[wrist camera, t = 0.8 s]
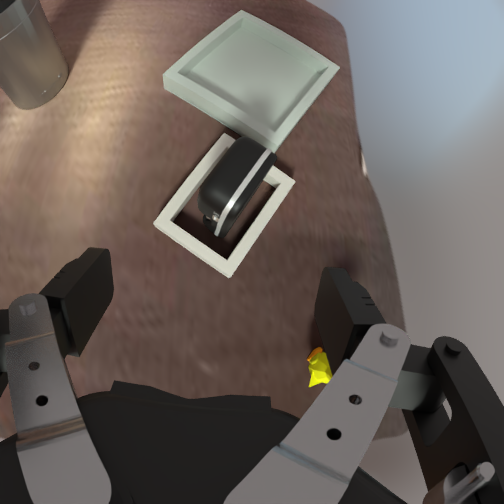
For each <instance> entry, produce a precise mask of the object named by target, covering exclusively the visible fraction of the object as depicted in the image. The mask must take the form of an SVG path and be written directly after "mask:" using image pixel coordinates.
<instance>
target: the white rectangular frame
mask: <svg viewBox="0 0 504 504" xmlns="http://www.w3.org/2000/svg"><path fill="white" fill-rule="evenodd" d="M234 141H235V139H233V138H232V137H230V136H229V135H227V134H226V133H224V134H223V135H222V136H221V137H220V138H219V140H218V141H217V142H216V143H215V144H214V146H213V147H212V148H211V149H210V151H209V152H208V153H207V154H206V155H205V157H204V158H203V159H202V160H201V162H200V163H199V164H198V165H197V167H196V168H195V169H194V170H193V172H192V173H191V174H190V175H189V177H188V178H187V179H186V180H185V182H184V183H183V184H182V186H181V187H180V188H179V189H178V191H177V192H176V193H175V195H174V196H173V197H172V199H171V200H170V201H169V203H168V204H167V205H166V207H165V208H164V209H163V211H162V212H161V213H160V215H159V216H158V218H157V219H156V220H155V222H154V223H153V224H154V225H155V227H156V228H158V229H159V230H161V231H162V232H163V233H165V234H166V235H168V236H169V237H170V238H172V239H173V240H175V241H176V242H177V243H179V244H180V245H182V246H183V247H184V248H186V249H187V250H189V251H190V252H192V253H193V254H194V255H196V256H197V257H199V258H200V259H202V260H203V261H204V262H206V263H207V264H209V265H210V266H212V267H213V268H215V269H216V270H217V271H219V272H220V273H222V274H223V275H225V276H226V277H228V278H230V277H231V276H232V274H233V273H234V271H235V270H236V269H237V267H238V266H239V264H240V263H241V261H242V260H243V258H244V257H245V255H246V254H247V252H248V251H249V249H250V248H251V246H252V245H253V243H254V242H255V240H256V239H257V237H258V236H259V235H260V233H261V232H262V230H263V229H264V227H265V226H266V224H267V223H268V221H269V220H270V218H271V217H272V215H273V214H274V212H275V211H276V209H277V208H278V207H279V205H280V204H281V202H282V201H283V199H284V198H285V196H286V195H287V193H288V192H289V190H290V189H291V187H292V186H293V184H294V183H295V181H294V180H293V179H291V178H290V177H289V176H287V175H286V174H284V173H283V172H282V171H280V170H279V169H277V168H276V167H275V166H272V167H271V169H270V170H269V172H268V174H267V175H266V177H265V178H264V180H265V181H266V182H267V183H269V184H270V185H272V186H273V187H274V188H276V190H275V191H274V192H273V194H272V195H271V197H270V198H269V200H268V201H267V203H266V204H265V205H264V207H263V208H262V210H261V211H260V213H259V214H258V215H257V217H256V218H255V220H254V221H253V223H252V224H251V226H250V227H249V228H248V230H247V231H246V233H245V234H244V236H243V237H242V239H241V240H240V242H239V243H238V244H237V246H236V247H235V249H234V250H233V252H232V253H231V255H230V256H229V258H228V259H227V260H226V259H224V258H223V257H221V256H220V255H219V254H217V253H216V252H214V251H213V250H211V249H210V248H209V247H207V246H206V245H204V244H203V243H201V242H200V241H198V240H197V239H196V238H194V237H193V236H191V235H190V234H189V233H187V232H186V231H184V230H183V229H181V228H180V227H179V226H177V225H176V224H174V223H173V221H174V220H175V218H176V217H177V216H178V214H179V213H180V211H181V210H182V209H183V207H184V206H185V205H186V203H187V202H188V201H189V199H190V198H191V197H192V195H193V194H194V193H195V191H196V190H197V189H198V188H199V186H200V185H201V184H202V182H203V181H204V180H205V178H206V177H207V176H208V175H209V173H210V172H211V171H212V169H213V168H214V167H215V166H216V164H217V163H218V162H219V160H220V159H221V158H222V157H223V155H224V154H225V153H226V151H227V150H228V149H229V148H230V146H231V145H232V144H233V143H234Z"/></svg>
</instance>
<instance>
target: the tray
mask: <svg viewBox="0 0 504 504" xmlns="http://www.w3.org/2000/svg"><path fill="white" fill-rule="evenodd" d="M339 68H340V67H339V66H337V65H336V64H334V63H333V62H331V61H330V60H328V59H327V58H325V57H324V56H322V55H321V54H319V53H318V52H316V51H314V50H313V49H311V48H310V47H308V46H306V45H305V44H303V43H302V42H300V41H298V40H297V39H295V38H293V37H291V36H290V35H288V34H286V33H285V32H283V31H281V30H279V29H277V28H276V27H274V26H272V25H270V24H268V23H266V22H265V21H263V20H261V19H259V18H257V17H255V16H253V15H251V14H249V13H247V12H245V11H243V10H240V11H239V12H237V13H236V14H235V15H233V16H232V17H231V18H229V19H228V20H227V21H225V22H224V23H223V24H221V25H220V26H219V27H218V28H216V29H215V30H214V31H212V32H211V33H210V34H209V35H207V36H206V37H205V38H204V39H203V40H201V41H200V42H199V43H198V44H196V45H195V46H194V47H193V48H192V49H191V50H189V51H188V52H187V53H186V54H185V55H184V56H183V57H181V58H180V59H179V60H178V61H177V62H176V63H175V64H174V65H172V66H171V67H170V68H169V69H168V70H167V71H166V72H165V73H164V74H163V82H164V89H166V90H168V91H169V92H171V93H173V94H175V95H176V96H178V97H180V98H181V99H183V100H185V101H186V102H188V103H190V104H191V105H193V106H195V107H196V108H198V109H200V110H201V111H203V112H204V113H206V114H208V115H209V116H211V117H212V118H214V119H216V120H217V121H219V122H220V123H222V124H224V125H225V126H227V127H228V128H230V129H231V130H233V131H234V132H236V133H237V134H239V135H240V136H242V137H249V138H251V139H253V140H255V141H256V142H258V143H259V144H261V145H262V146H264V147H265V148H269V149H271V150H272V152H273V153H274V154H275V152H276V151H277V150H278V148H279V147H280V146H281V144H282V143H283V142H284V140H285V139H286V138H287V136H288V135H289V134H290V132H291V131H292V130H293V128H294V127H295V126H296V124H297V123H298V122H299V121H300V119H301V118H302V117H303V115H304V114H305V113H306V112H307V110H308V109H309V108H310V106H311V105H312V104H313V103H314V101H315V100H316V99H317V97H318V96H319V95H320V94H321V92H322V91H323V90H324V89H325V87H326V86H327V85H328V83H329V82H330V81H331V80H332V78H333V77H334V75H335V74H336V73H337V71H338V70H339Z"/></svg>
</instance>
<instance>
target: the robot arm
mask: <svg viewBox="0 0 504 504" xmlns="http://www.w3.org/2000/svg"><path fill="white" fill-rule="evenodd" d="M68 72H69V70H68V65H67V62H66V60H65V58H64V56H63V54H62V52H61V49H60V47H59V45H58V43H57V40H56V38H55V36H54V34H53V31H52V29H51V27H50V25H49V22H48V20H47V18H46V15H45V13H44V11H43V8H42V6H41V3H40V1H39V0H0V87H1V88H2V89H3V91H4V92H5V93H6V94H7V96H8V97H9V98H10V99H11V100H12V102H13V103H14V104H15V105H16V106H17V107H18V108H21V109H34V108H36V107H39V106H41V105H43V104H45V103H46V102H48V101H49V100H50V99H52V98H53V97H54V96H55V95H56V94H57V93H58V92H59V91H60V89H61V88H62V87H63V85H64V83H65V82H66V79H67V77H68ZM113 291H114V285H113V277H112V268H111V258H110V252H109V250H108V249H104V248H93V247H89V248H88V249H87V250H86V251H85V252H84V253H83V254H82V255H81V256H80V257H79V258H78V259H75V260H73V261H71V262H69V263H67V264H66V265H65V266H64V267H63V268H62V269H61V270H60V272H58V273H57V274H56V275H55V276H54V278H52V280H51V281H50V282H49V283H48V284H47V285H46V286H45V287H44V288H43V289H42V290H41V291H40V293H39V294H34V293H32V294H26V295H23V296H20V297H18V298H17V299H15V300H14V301H13V302H12V303H11V304H10V306H9V309H3V310H0V397H1V395H2V393H3V391H4V390H5V388H6V386H7V384H8V382H9V389H10V396H11V402H12V408H13V414H14V419H15V424H16V429H17V433H16V434H14V435H12V436H10V437H9V438H7V439H5V440H3V441H1V442H0V504H407V503H406V502H405V501H403V500H402V499H400V498H399V497H398V496H396V495H395V494H394V493H392V492H391V491H390V490H388V489H387V488H386V487H384V486H383V485H382V484H380V483H379V482H378V481H377V480H375V479H374V478H372V477H371V476H370V475H369V474H368V473H366V472H365V471H364V470H362V469H361V468H360V467H359V466H358V465H359V464H360V462H361V460H362V458H363V456H364V454H365V452H366V450H367V448H368V447H369V445H370V443H371V441H372V439H373V437H374V435H375V433H376V431H377V429H378V427H379V424H380V422H381V420H382V418H383V416H384V414H385V412H386V409H387V407H388V406H389V407H395V408H401V409H402V412H403V414H404V417H405V420H406V423H407V426H408V429H409V431H410V434H411V437H412V440H413V444H414V447H415V450H416V453H417V456H418V459H419V463H420V466H421V469H422V472H423V475H424V479H425V482H426V486H427V489H428V493H427V494H426V495H425V498H424V500H423V504H504V406H503V405H502V403H501V401H500V399H499V397H498V396H497V394H496V392H495V391H494V389H493V387H492V386H491V384H490V382H489V381H488V379H487V378H486V376H485V374H484V373H483V371H482V370H481V368H480V367H479V365H478V363H477V362H476V360H475V359H474V357H473V356H472V354H471V353H470V351H469V350H468V348H467V347H466V346H465V345H464V344H463V343H462V342H460V341H458V340H457V339H454V338H451V337H446V336H443V337H438V338H437V339H436V340H435V341H434V343H433V345H432V347H431V348H426V347H421V346H416V345H412V344H411V342H410V338H409V336H408V335H407V334H406V333H405V332H404V331H403V330H401V329H400V328H398V327H395V326H393V325H389V324H387V323H386V322H385V320H384V318H383V317H382V315H381V313H380V311H379V310H378V308H377V306H375V303H374V301H373V300H372V299H371V296H370V295H369V293H368V292H367V290H366V289H365V288H364V287H363V286H361V285H360V284H359V283H358V282H353V281H352V280H351V278H350V276H349V275H348V273H347V271H346V269H344V268H333V267H325V268H324V269H323V272H322V276H321V280H320V285H319V289H318V294H317V298H316V302H315V320H316V323H317V327H318V330H319V333H320V336H321V340H322V343H323V346H324V349H325V353H326V356H327V359H328V363H329V366H330V370H331V373H332V376H333V377H332V378H331V380H330V381H329V382H328V384H327V385H326V387H325V388H324V389H323V391H322V392H321V393H320V395H319V396H318V397H317V399H316V400H315V401H314V403H313V404H312V405H311V406H310V408H309V409H308V410H307V412H306V413H305V414H304V415H303V417H302V418H301V419H299V418H297V417H296V416H294V415H291V414H289V413H287V412H284V411H281V410H278V409H274V408H271V400H270V397H268V396H243V395H225V396H217V397H208V398H199V399H186V398H183V397H180V396H177V395H174V394H171V393H168V392H165V391H162V390H159V389H156V388H153V387H151V386H145V385H138V384H132V383H126V382H120V381H115V380H114V382H113V385H112V388H111V390H110V391H104V392H97V393H92V394H88V395H85V396H82V397H80V398H78V397H77V394H76V391H75V388H74V386H73V383H72V380H71V377H70V374H69V371H68V368H67V365H66V362H65V357H66V355H72V356H76V357H80V355H81V353H82V351H83V350H84V348H85V346H86V344H87V342H88V341H89V339H90V337H91V335H92V333H93V332H94V330H95V328H96V326H97V325H98V323H99V321H100V319H101V318H102V316H103V314H104V313H105V311H106V309H107V307H108V306H109V304H110V302H111V300H112V297H113ZM446 398H447V400H448V402H449V405H450V407H451V410H452V417H451V421H450V420H449V417H448V415H447V412H446V410H445V408H444V406H443V404H442V403H443V402H444V400H445V399H446Z"/></svg>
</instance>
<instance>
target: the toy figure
mask: <svg viewBox="0 0 504 504" xmlns="http://www.w3.org/2000/svg"><path fill="white" fill-rule="evenodd" d="M322 350H323V349H322V348H321V347H318V348H316V349H314V350H313V351H312V352H311V354H310V355H309V357H308V358H307V360H308V361H309V362H310V364H309V366H308V367H309V370H310V374H311V380H310V385H309V387H311V386H314V385H316V384H318V383H321V382H323V383H328V382H329V381H330V380H331V378H332V377H333V376H332V373H331V370H330V366H329V363H328V359H327V356H326V353H324V352H322Z"/></svg>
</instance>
